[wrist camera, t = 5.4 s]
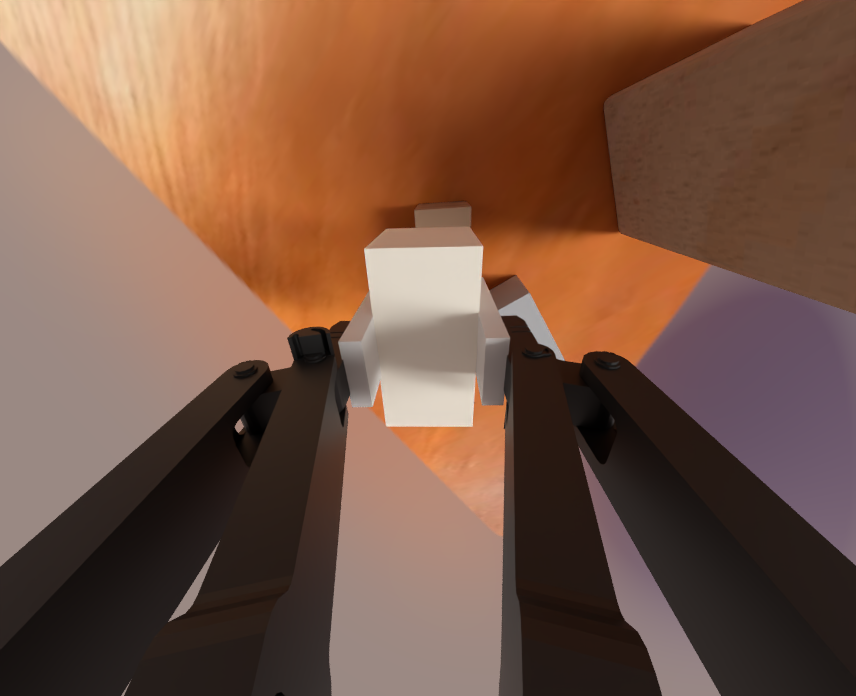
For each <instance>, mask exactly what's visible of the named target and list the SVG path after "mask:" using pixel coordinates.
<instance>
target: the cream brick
mask: <svg viewBox="0 0 856 696" xmlns="http://www.w3.org/2000/svg"><path fill="white" fill-rule="evenodd" d="M364 252H365V260H366V268H367V276H368V284H369V292H370V300H371V308H372V316H373V319H374V326H375V333H376V340H377V347H378V354H379V361H380V368H381V379H380V381H381V389H382V397H383V405H384V413H385V421H386V426H442V427H472V426H473V409H474V393H475V376H476V359H477V336H478V313H479V308H480V291H481V275H482V258H483V245H482V244H481V242H480V241H479V239H478V238H477V237H476V235H475V234H474V232H473V231H472V229H471V228H470V227H434V228H393V229H385V230H384V231H383V232H382V233H381V234H380V235H379V236H378V237H377V238H375V239H374V240H373V241H372V242H371V243H370V244H369V245H368V246H367V247H365V248H364Z"/></svg>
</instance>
